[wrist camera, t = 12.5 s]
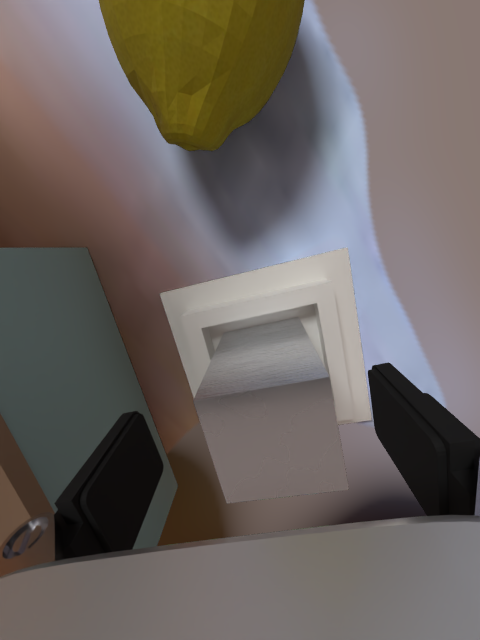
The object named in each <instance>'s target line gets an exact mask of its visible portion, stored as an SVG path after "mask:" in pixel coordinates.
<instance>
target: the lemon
mask: <svg viewBox="0 0 480 640" xmlns="http://www.w3.org/2000/svg"><path fill="white" fill-rule="evenodd" d="M304 1H305V0H99V3H100V8H101V12H102V15H103V19H104V22H105V25H106V29H107V32H108V35H109V38H110V40H111V43H112V46H113V48H114V51H115V53H116V56H117V58H118V61H119V63H120V65H121V67H122V69H123V71H124V73H125V75H126V77H127V78H128V80H129V82H130V84H131V86H132V87H133V89H134V90H135V91H136V93H137V94H138V95H139V97H140V98H141V99H142V101H143V102H144V103H145V105H146V106H147V107H148V109H149V110H150V112H151V113H152V115H153V117H154V119H155V122H156V125H157V127H158V129H159V131H160V133H161V135H162V136H163V138H164V139H165V140H166V142H168V143H169V144H176V145H178V146H180V147H182V148H183V149H185V150H188V151H195V150H209V151H213V150H216V149H218V148H219V147H220V146H221V145H222V144H223V143H224V141H225V140H226V138H227V137H228V136H229V135H230V133H231V132H232V131H233V130H234V129H236V128H238V127H240V126H243V125H244V124H246V123H248V122H249V121H250V120H251V119H253V118H254V117H255V116H256V115H257V114H258V113H259V112H260V111H261V109H262V108H263V107H264V105H265V104H266V103H267V101H268V100H269V98H270V97H271V95H272V93H273V91H274V90H275V88H276V86H277V84H278V83H279V81H280V79H281V77H282V75H283V74H284V71H285V69H286V67H287V64H288V62H289V60H290V58H291V55H292V52H293V48H294V45H295V42H296V38H297V35H298V30H299V26H300V22H301V18H302V13H303V7H304Z"/></svg>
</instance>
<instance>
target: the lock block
mask: <svg viewBox="0 0 480 640" xmlns="http://www.w3.org/2000/svg"><path fill="white" fill-rule="evenodd" d="M193 402H194V405H195V408H196V411H197V414H198V417H199V420H200V424H201V427H202V430H203V433H204V436H205V439H206V442H207V445H208V448H209V451H210V454H211V457H212V460H213V463H214V466H215V469H216V473H217V475H218V478H219V482H220V485H221V488H222V491H223V494H224V497H225V500H226V503H227V504H228V503H237V502H245V501H254V500H263V499H272V498H281V497H290V496H299V495H308V494H317V493H326V492H335V491H343V490H349V486H348V481H347V475H346V469H345V463H344V458H343V452H342V447H341V441H340V434H339V428H338V423H337V417H336V411H335V405H334V400H333V394H332V388H331V382H330V377H329V375H328V373H327V371H326V369H325V367H324V365H323V363H322V361H321V359H320V357H319V355H318V354H317V352H316V350H315V348H314V346H313V344H312V342H311V340H310V338H309V336H308V334H307V332H306V330H305V329H304V327H303V325H302V323H301V321H300V319H299V317H295V318H291V319H286V320H281V321H276V322H272V323H267V324H262V325H257V326H253V327H248V328H243V329H238V330H234V331H229V332H224V333H223V335H222V337H221V340H220V342H219V344H218V346H217V348H216V351H215V353H214V355H213V357H212V360H211V362H210V364H209V366H208V368H207V371H206V373H205V375H204V377H203V380H202V382H201V384H200V386H199V388H198V391H197V393H196V395H195V397H194V399H193Z"/></svg>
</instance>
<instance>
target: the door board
mask: <svg viewBox="0 0 480 640" xmlns="http://www.w3.org/2000/svg"><path fill="white" fill-rule="evenodd" d="M133 411H138V412H139V413H140V414H143V416H144V418H145V420H146V423H147V425H148V427H149V430H150V432H151V435H152V437H153V439H154V442H155V444H156V447H157V449H158V451H159V454H160V456H161V459H162V461H163V465H164V469H163V473H162V476H161V478H160V481H159V483H158V486H157V488H156V491H155V493H154V496H153V498H152V501H151V503H150V506H149V509H148V511H147V514H146V516H145V519H144V521H143V524H142V526H141V529H140V531H139V534H138V537H137V539H136V542H135V544H134V547H133V549H140V548H148V547H156V546H157V544H158V541H159V539H160V536H161V533H162V530H163V527H164V525H165V522H166V519H167V516H168V513H169V510H170V508H171V505H172V502H173V499H174V496H175V493H176V490H177V487H178V485H177V482H176V479H175V477H174V474H173V472H172V469H171V466H170V463H169V461H168V458H167V456H166V453H165V450H164V448H163V445H162V442H161V440H160V437H159V435H158V432H157V429H156V427H155V424H154V422H153V419H152V416H151V414H150V411H149V408H148V406H147V403H146V401H145V398H144V395H143V393H142V390H141V388H140V385H139V382H138V380H137V377H136V374H135V372H134V369H133V367H132V364H131V361H130V359H129V356H128V354H127V351H126V348H125V346H124V343H123V340H122V338H121V335H120V333H119V330H118V327H117V325H116V322H115V320H114V317H113V314H112V312H111V309H110V306H109V304H108V301H107V299H106V296H105V293H104V291H103V288H102V286H101V283H100V280H99V278H98V275H97V272H96V270H95V267H94V265H93V262H92V259H91V257H90V254H89V252H88V249H87V248H0V546H1V545H2V543H3V542H4V541H5V539H6V538H7V537H8V536H9V535H10V534H11V533H12V532H13V531H14V530H15V529H16V528H17V527H18V526H20V525H21V524H22V523H24V522H25V521H27V520H28V519H30V518H32V517H33V516H35V515H37V514H40V513H43V512H50V513H52V514H53V515H54V514H55V513H56V512H57V510H58V509H57V507H56V505H55V504H54V503H55V502H56V500H57V499H58V498H59V496H60V495H61V494H62V492H63V491H64V490H65V488H66V487H67V486H68V484H69V483H70V482H71V480H72V479H73V478H74V477H75V475H76V474H77V473H78V471H79V470H80V469H81V467H82V466H83V465H84V463H85V462H86V461H87V459H88V458H89V457H90V455H91V454H92V453H93V452H94V450H95V449H96V448H97V446H98V445H99V444H100V442H101V441H102V440H103V438H104V437H105V436H106V434H107V433H108V432H109V430H110V429H111V428H112V427H113V425H114V424H115V423H116V421H117V420H118V419H119V417H120V416H121V415H122V414H123V413H127V412H133Z"/></svg>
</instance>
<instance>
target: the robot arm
mask: <svg viewBox="0 0 480 640" xmlns="http://www.w3.org/2000/svg"><path fill="white" fill-rule="evenodd" d="M368 378H369V386H370V394H371V402H372V410H373V418H374V426H375V431H376V434H377V436H378V438H379V440H380V441H381V443H382V445H383V446H384V448H385V449H386V451H387V452H388V454H389V456H390V457H391V459H392V460H393V462H394V464H395V465H396V467H397V468H398V470H399V472H400V473H401V475H402V476H403V478H404V479H405V481H406V483H407V484H408V486H409V488H410V489H411V491H412V492H413V494H414V496H415V497H416V499H417V500H418V502H419V504H420V505H421V507H422V508H423V510H424V511H425V513H426V515H427V516H418V517H408V518H398V519H388V520H377V521H366V522H357V523H348V524H339V525H331V526H322V527H313V528H305V529H296V530H287V531H278V532H270V533H262V534H253V535H245V536H236V537H228V538H220V539H212V540H204V541H196V542H187V543H179V544H172V545H164V546H156V547H148V548H140V549H133V547H134V544H135V542H136V539H137V537H138V534H139V531H140V529H141V526H142V524H143V521H144V519H145V516H146V514H147V511H148V509H149V506H150V503H151V501H152V498H153V496H154V493H155V491H156V488H157V486H158V483H159V481H160V478H161V476H162V473H163V469H164V465H163V461H162V459H161V456H160V454H159V451H158V449H157V447H156V444H155V442H154V439H153V437H152V435H151V432H150V430H149V427H148V425H147V423H146V420H145V418H144V416H143V414H140V413H139V412H138V411H133V412H127V413H123V414H122V415H121V416H120V417H119V419H118V420H117V421H116V423H115V424H114V425H113V427H112V428H111V429H110V430H109V432H108V433H107V434H106V436H105V437H104V438H103V440H102V441H101V442H100V444H99V445H98V446H97V448H96V449H95V450H94V452H93V453H92V454H91V455H90V457H89V458H88V459H87V461H86V462H85V463H84V465H83V466H82V467H81V469H80V470H79V471H78V473H77V474H76V475H75V477H74V478H73V479H72V480H71V482H70V483H69V484H68V486H67V487H66V488H65V490H64V491H63V492H62V494H61V495H60V496H59V498H58V499H57V500H56V502H55V503H54V504H55V505H56V507H57V509H58V510H57V512H56V513H55V514H54V515H53V514H52V513H50V512H43V513H40V514H37V515H35V516H33V517H32V518H30V519H28V520H27V521H25V522H24V523H22V524H21V525H20V526H18V527H17V528H16V529H15V530H14V531H13V532H12V533H11V534H10V535H9V536H8V537H7V538H6V539H5V541H4V542H3V543H2V545H1V546H0V640H480V438H478V437H477V436H476V435H475V434H474V433H473V432H472V431H471V430H469V429H468V428H467V427H466V426H465V425H464V424H463V423H461V422H460V421H459V420H458V419H457V418H456V417H455V416H454V415H452V414H451V413H450V412H449V411H448V410H447V409H446V408H444V407H443V406H442V405H441V404H440V403H439V402H438V401H436V400H435V399H434V398H433V397H432V396H431V395H429V394H427V393H422V392H421V391H420V390H419V389H418V388H417V387H416V386H415V385H413V384H412V383H411V382H410V381H409V380H408V379H407V378H406V377H405V376H404V375H402V374H401V373H400V372H399V371H398V370H397V369H396V368H395V367H394V366H393V365H391V364H390V363H384V364H379V365H373V366H372V370H369V371H368Z"/></svg>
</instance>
